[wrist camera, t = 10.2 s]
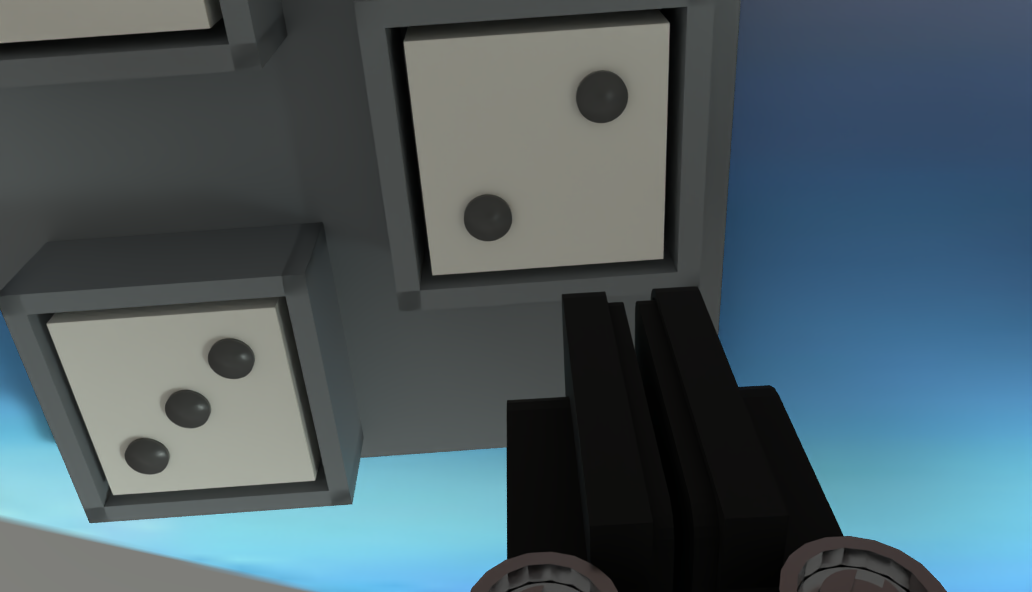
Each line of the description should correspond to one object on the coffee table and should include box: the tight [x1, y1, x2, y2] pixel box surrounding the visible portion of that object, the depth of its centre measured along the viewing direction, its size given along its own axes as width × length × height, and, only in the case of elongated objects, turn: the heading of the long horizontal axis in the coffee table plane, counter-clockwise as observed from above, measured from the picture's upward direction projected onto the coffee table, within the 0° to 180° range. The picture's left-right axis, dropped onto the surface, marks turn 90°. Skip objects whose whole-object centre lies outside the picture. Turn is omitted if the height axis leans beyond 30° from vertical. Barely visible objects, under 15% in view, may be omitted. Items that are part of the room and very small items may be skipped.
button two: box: [404, 9, 670, 275], centre depth 18 cm, size 5×5×2 cm
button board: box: [0, 0, 741, 523], centre depth 19 cm, size 18×19×4 cm
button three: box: [47, 296, 321, 495], centre depth 21 cm, size 5×5×2 cm
